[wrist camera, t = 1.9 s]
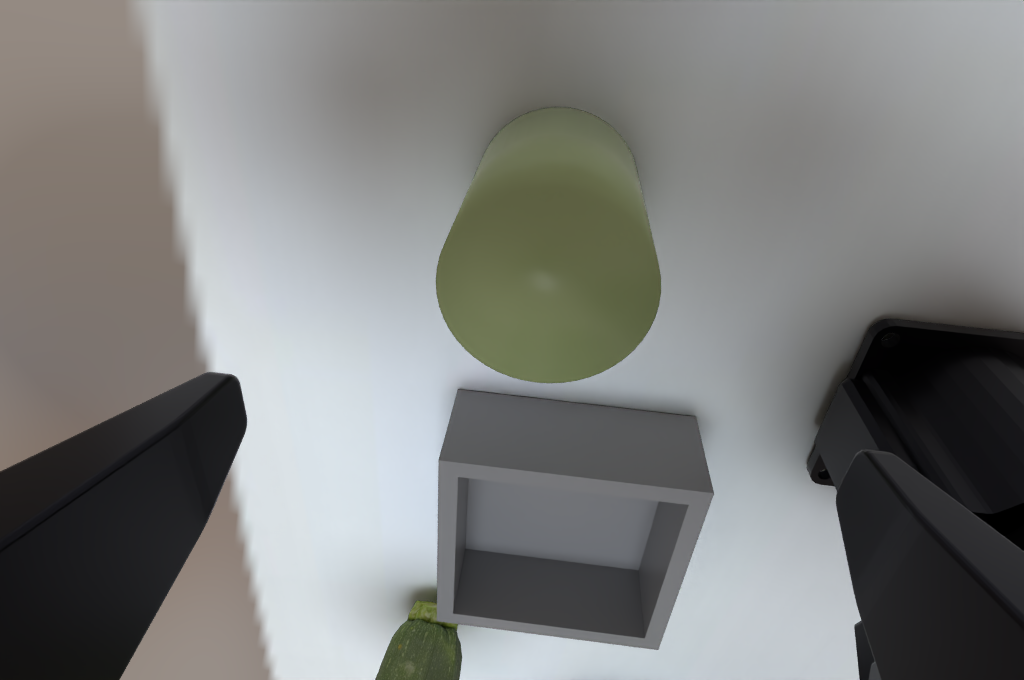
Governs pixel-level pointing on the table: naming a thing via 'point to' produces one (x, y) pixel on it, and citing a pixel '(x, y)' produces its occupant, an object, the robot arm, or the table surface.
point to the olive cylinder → (551, 252)
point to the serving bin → (567, 517)
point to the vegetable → (423, 648)
